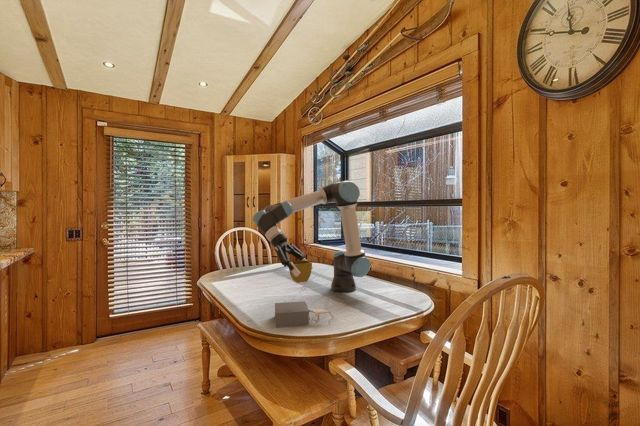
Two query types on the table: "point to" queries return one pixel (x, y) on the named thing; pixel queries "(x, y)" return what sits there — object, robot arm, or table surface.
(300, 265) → the flower pot
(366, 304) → the table surface
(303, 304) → the base block
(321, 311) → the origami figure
